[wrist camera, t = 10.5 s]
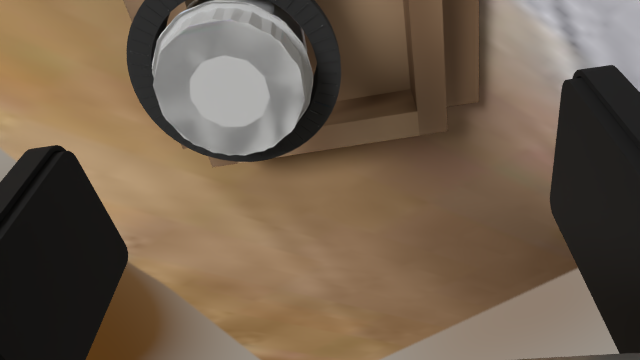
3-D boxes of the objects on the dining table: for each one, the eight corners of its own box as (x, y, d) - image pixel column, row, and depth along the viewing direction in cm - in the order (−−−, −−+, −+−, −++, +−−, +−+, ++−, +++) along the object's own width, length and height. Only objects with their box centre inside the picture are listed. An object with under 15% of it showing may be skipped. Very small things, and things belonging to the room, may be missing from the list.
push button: (322, 75, 23) (322, 228, 15) (199, 62, 23) (131, 212, 15) (343, -94, 19) (358, -8, 11) (194, -113, 19) (98, -38, 11)
